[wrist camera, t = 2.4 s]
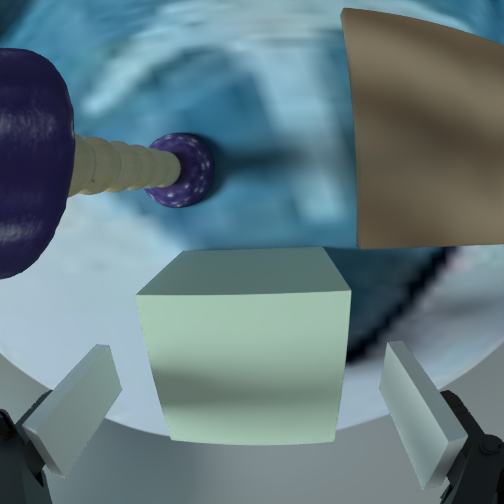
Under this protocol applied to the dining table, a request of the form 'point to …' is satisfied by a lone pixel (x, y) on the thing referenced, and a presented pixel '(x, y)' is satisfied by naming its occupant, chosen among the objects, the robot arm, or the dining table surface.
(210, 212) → the dining table surface
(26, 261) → the toy lamp
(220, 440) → the sage block
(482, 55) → the walnut board
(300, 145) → the dining table surface
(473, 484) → the robot arm
